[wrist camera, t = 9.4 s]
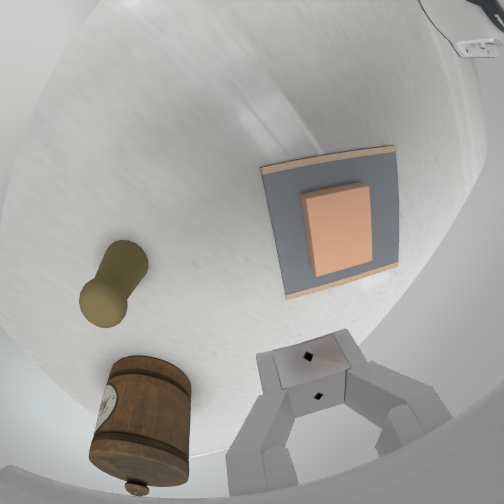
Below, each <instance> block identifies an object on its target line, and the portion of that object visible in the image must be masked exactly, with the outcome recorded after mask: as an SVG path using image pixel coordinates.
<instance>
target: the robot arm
mask: <svg viewBox="0 0 504 504" xmlns="http://www.w3.org/2000/svg"><path fill="white" fill-rule="evenodd" d="M419 1H420V3H421V5H422V7H423V9H424V10H425V12H426V14H427V15H428V17H429V18H430V20H431V21H432V22H433V24H434V25H435V26H436V27H437V28H438V30H439V31H440V32H441V33H442V34H443V35H444V36H445V37H446V38H447V39H448V40H449V41H450V42H451V43H452V45H453V47H454V48H455V50H456V51H457V53H458V54H459V55H460V56H461V57H462V58H472V57H485V58H487V57H488V58H489V57H490V58H495V57H498V56H499V46H504V0H419ZM256 360H257V365H258V370H259V375H260V380H261V385H262V390H263V395H259V396H258V398H257V400H256V402H255V404H254V405H253V407H252V409H251V411H250V413H249V415H248V417H247V418H246V420H245V422H244V424H243V426H242V427H241V429H240V431H239V433H238V435H237V436H236V438H235V440H234V442H233V443H232V445H231V447H230V449H229V450H228V452H227V454H226V464H227V476H228V486H229V495H230V496H229V497H218V498H198V499H167V498H149V497H148V498H147V497H137V496H128V495H120V494H114V493H107V492H102V491H96V490H91V489H86V488H82V487H78V486H74V485H69V484H66V483H62V482H59V481H55V480H52V479H49V478H46V477H43V476H40V475H37V474H34V473H31V472H28V471H26V470H24V469H21V468H19V467H16V466H12V465H8V466H6V467H4V468H3V469H2V470H0V504H504V379H503V380H502V381H501V382H500V383H499V384H497V385H496V386H495V387H494V388H493V389H491V390H490V391H489V392H488V393H487V394H485V395H484V396H483V397H482V398H480V399H479V400H477V401H476V402H475V403H474V404H472V405H471V406H469V407H468V408H467V409H465V410H464V411H463V412H461V413H459V414H458V415H457V416H455V417H454V418H453V417H452V415H451V414H450V412H449V411H448V410H447V408H446V406H445V405H444V403H443V402H442V400H441V399H440V397H439V396H438V394H437V393H436V391H435V390H434V388H433V387H431V386H429V385H426V384H424V383H421V382H419V381H417V380H414V379H412V378H410V377H407V376H405V375H403V374H400V373H398V372H396V371H393V370H391V369H389V368H387V367H385V366H382V365H380V364H378V363H376V362H373V361H370V362H367V360H366V359H365V357H364V355H363V354H362V352H361V350H360V349H359V347H358V345H357V344H356V342H355V340H354V339H353V337H352V336H351V334H350V332H349V331H348V330H347V329H343V330H340V331H337V332H334V333H331V334H328V335H325V336H321V337H318V338H315V339H312V340H309V341H305V342H302V343H299V344H295V345H291V346H287V347H283V348H279V349H275V350H272V351H267V352H263V353H258V354H256ZM342 403H345V405H347V406H348V407H350V408H351V409H353V410H354V411H356V412H357V413H359V414H360V415H362V416H364V417H365V418H367V419H368V420H369V421H371V422H372V423H374V424H375V425H377V426H378V427H380V428H382V431H381V434H380V436H379V439H378V441H377V443H376V446H375V448H376V450H377V452H378V454H379V457H380V458H378V459H375V460H373V461H370V462H368V463H365V464H363V465H361V466H358V467H355V468H352V469H350V470H347V471H344V472H341V473H338V474H335V475H332V476H329V477H326V478H322V479H319V480H316V481H311V482H308V483H304V484H300V485H299V482H298V479H297V475H296V472H295V469H294V466H293V463H292V460H291V457H290V454H289V451H288V449H287V448H284V447H285V445H286V442H287V439H288V437H289V434H290V431H291V429H292V426H293V423H294V420H295V419H294V418H297V417H301V416H304V415H307V414H310V413H313V412H316V411H319V410H323V409H326V408H330V407H333V406H336V405H339V404H342Z"/></svg>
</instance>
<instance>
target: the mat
mask: <svg viewBox="0 0 504 504" xmlns="http://www.w3.org/2000/svg"><path fill="white" fill-rule="evenodd" d="M260 168H261V173H262V178H263V182H264V187H265V192H266V197H267V202H268V206H269V211H270V216H271V221H272V226H273V231H274V236H275V241H276V247H277V252H278V257H279V262H280V267H281V273H282V278H283V283H284V289H285V294H286V299H287V300H288V299H292V298H296V297H299V296H303V295H307V294H310V293H314V292H317V291H321V290H324V289H327V288H331V287H334V286H337V285H341V284H344V283H347V282H351V281H354V280H357V279H360V278H363V277H367V276H370V275H373V274H376V273H379V272H382V271H385V270H388V269H391V268H394V267H397V266H398V251H399V197H398V177H397V163H396V148H395V146H384V147H376V148H368V149H360V150H353V151H346V152H340V153H333V154H327V155H321V156H315V157H310V158H304V159H299V160H294V161H289V162H284V163H279V164H274V165H269V166H264V167H260ZM356 182H360V183H363V184H365V185H367V186H369V193H370V208H371V228H372V261H369V262H366V263H363V264H359V265H356V266H352V267H349V268H346V269H342V270H339V271H335V272H332V273H328V274H325V275H321V276H318V277H316V276H315V274H314V273H313V271H312V270H311V268H310V262H309V254H308V247H307V240H306V233H305V226H304V219H303V213H302V207H301V201H300V194H303V193H307V192H312V191H317V190H321V189H326V188H331V187H336V186H341V185H346V184H351V183H356Z"/></svg>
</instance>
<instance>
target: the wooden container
mask: <svg viewBox="0 0 504 504" xmlns="http://www.w3.org/2000/svg"><path fill="white" fill-rule="evenodd" d="M190 410H191V385H190V382H189V380H188V378H187V377H186V376H185V375H184V374H183V373H182V372H181V371H180V370H179V369H178V368H176V367H175V366H173V365H171V364H169V363H167V362H165V361H162V360H159V359H155V358H150V357H144V356H133V357H127V358H124V359H121V360H119V361H118V362H116V363H115V364H114V365H113V367H112V369H111V372H110V375H109V379H108V382H107V385H106V388H105V391H104V394H103V398H102V402H101V406H100V410H99V415H98V419H97V423H96V428H95V432H94V437H93V440H92V443H91V447H90V451H89V460H90V461H91V462H92V463H93V465H95V466H96V467H97V468H99V469H100V470H102V471H103V472H105V473H107V474H109V475H111V476H114V477H116V478H119V479H122V480H125V481H127V483H125V488H126V490H127V491H128V492H130V494H132V495H135V496H143V495H147V494H148V493H149V488H148V487H147V486H156V487H171V486H178V485H182V484H184V483H186V482H187V481H188V477H189V460H188V459H189V434H190Z"/></svg>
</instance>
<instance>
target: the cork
mask: <svg viewBox="0 0 504 504" xmlns="http://www.w3.org/2000/svg"><path fill="white" fill-rule="evenodd" d="M147 269H148V259H147V257H146V254H145V253H144V251H143V250H142V249H141V247H139V246H138V245H137V244H135V243H133V242H130V241H126V240H120V241H117V242H114V243H113V244H112V245H110V246H109V248H108V249H107V251H106V253H105V255H104V257H103V260H102V262H101V264H100V266H99V269H98V271H97V273H96V276H95V278H94V279H92V280H90V281H89V282H88V283H86V284H85V286H84V287H83V289H82V291H81V293H80V298H79V304H80V308H81V311H82V313H83V315H84V317H85V318H86V319H87V320H88V321H89V322H91V323H92V324H94V325H96V326H98V327H102V328H109V327H113V326H116V325H117V324H119V323H120V322H121V321H122V319H123V318H124V317H125V314H126V311H127V299H128V297H129V296H130V295H131V293H132V292H133V291H134V289H135V288H136V286H137V285H138V284H139V282H140V281H141V280H142V278H143V277H144V276H145V274H146V273H147Z"/></svg>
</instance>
